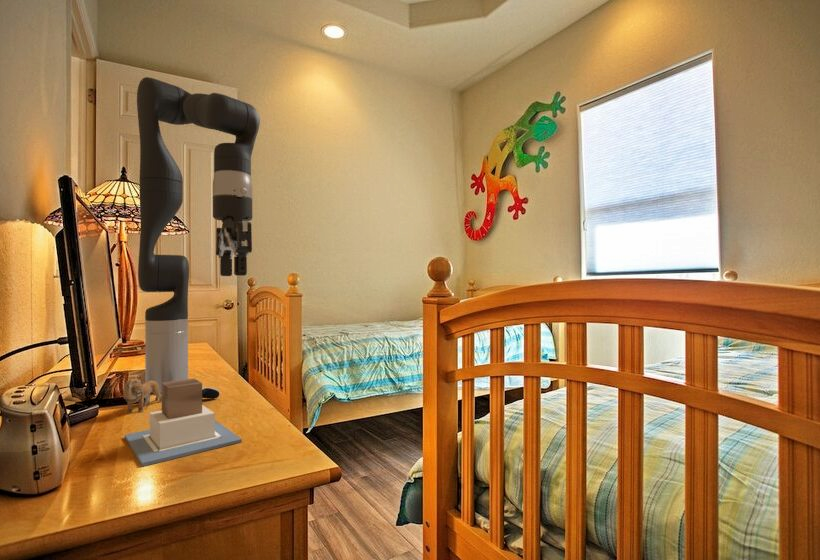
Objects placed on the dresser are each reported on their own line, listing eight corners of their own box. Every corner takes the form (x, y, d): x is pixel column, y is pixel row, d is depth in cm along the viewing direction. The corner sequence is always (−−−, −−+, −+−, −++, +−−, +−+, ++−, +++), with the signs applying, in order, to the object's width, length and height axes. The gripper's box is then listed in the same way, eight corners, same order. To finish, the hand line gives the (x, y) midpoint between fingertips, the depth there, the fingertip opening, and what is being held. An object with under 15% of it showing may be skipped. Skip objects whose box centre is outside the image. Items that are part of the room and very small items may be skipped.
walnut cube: (161, 412, 72) (161, 382, 72) (194, 406, 75) (193, 378, 75) (168, 419, 68) (168, 387, 68) (202, 413, 71) (202, 383, 71)
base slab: (149, 436, 72) (149, 412, 72) (200, 425, 77) (200, 403, 77) (160, 449, 66) (160, 423, 66) (214, 437, 71) (214, 413, 71)
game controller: (201, 404, 87) (180, 384, 88) (184, 423, 87) (162, 404, 88) (223, 392, 97) (203, 375, 97) (207, 410, 97) (188, 392, 97)
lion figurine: (140, 417, 84) (140, 380, 84) (116, 418, 84) (116, 381, 84) (166, 401, 96) (166, 368, 96) (146, 402, 96) (146, 369, 96)
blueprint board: (124, 437, 73) (124, 433, 73) (211, 419, 82) (211, 416, 82) (142, 466, 61) (142, 462, 61) (241, 442, 70) (241, 438, 70)
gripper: (203, 199, 90) (203, 276, 90) (225, 188, 79) (225, 275, 79) (239, 203, 95) (239, 276, 95) (264, 193, 84) (264, 275, 84)
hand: (233, 275), depth 87 cm, fingers open, 8 cm apart
